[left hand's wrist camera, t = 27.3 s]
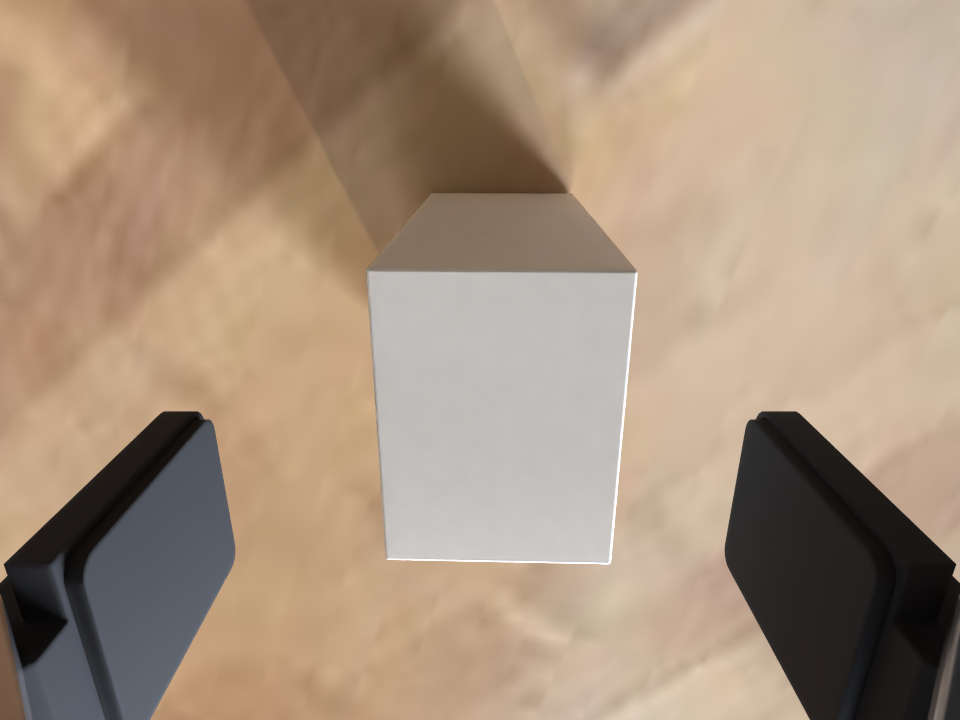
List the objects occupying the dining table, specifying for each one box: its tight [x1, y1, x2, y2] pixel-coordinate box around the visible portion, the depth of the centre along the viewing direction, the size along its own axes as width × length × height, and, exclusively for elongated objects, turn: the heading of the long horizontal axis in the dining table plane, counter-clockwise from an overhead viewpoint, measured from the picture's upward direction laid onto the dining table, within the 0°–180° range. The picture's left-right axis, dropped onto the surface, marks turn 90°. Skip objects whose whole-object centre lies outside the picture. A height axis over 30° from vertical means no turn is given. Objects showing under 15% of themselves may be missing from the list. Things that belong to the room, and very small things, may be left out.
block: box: [366, 193, 637, 564], centre depth 19 cm, size 7×5×12 cm
